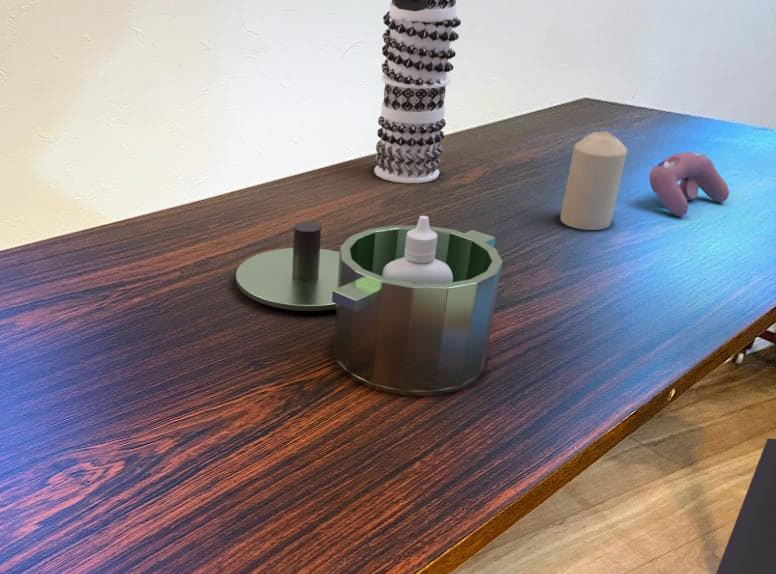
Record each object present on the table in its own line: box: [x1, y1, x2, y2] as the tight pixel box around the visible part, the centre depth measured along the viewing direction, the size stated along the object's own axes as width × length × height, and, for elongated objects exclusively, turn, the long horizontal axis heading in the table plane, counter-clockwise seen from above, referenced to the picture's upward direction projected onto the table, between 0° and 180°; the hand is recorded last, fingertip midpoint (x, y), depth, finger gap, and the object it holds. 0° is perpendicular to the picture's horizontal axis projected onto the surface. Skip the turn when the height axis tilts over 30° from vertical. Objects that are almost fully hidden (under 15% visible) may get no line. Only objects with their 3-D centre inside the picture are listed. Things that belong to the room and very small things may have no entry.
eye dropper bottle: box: [382, 215, 453, 284], centre depth 74 cm, size 4×6×12 cm
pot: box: [332, 224, 503, 397], centre depth 75 cm, size 13×18×10 cm
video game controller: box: [649, 151, 730, 218], centre depth 108 cm, size 10×5×7 cm, turn 124°
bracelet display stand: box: [373, 0, 462, 184], centre depth 112 cm, size 9×9×25 cm
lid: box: [235, 221, 340, 312], centre depth 88 cm, size 14×14×6 cm
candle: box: [560, 131, 628, 231], centre depth 101 cm, size 6×6×10 cm
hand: (448, 2), depth 62 cm, fingers open, 8 cm apart
